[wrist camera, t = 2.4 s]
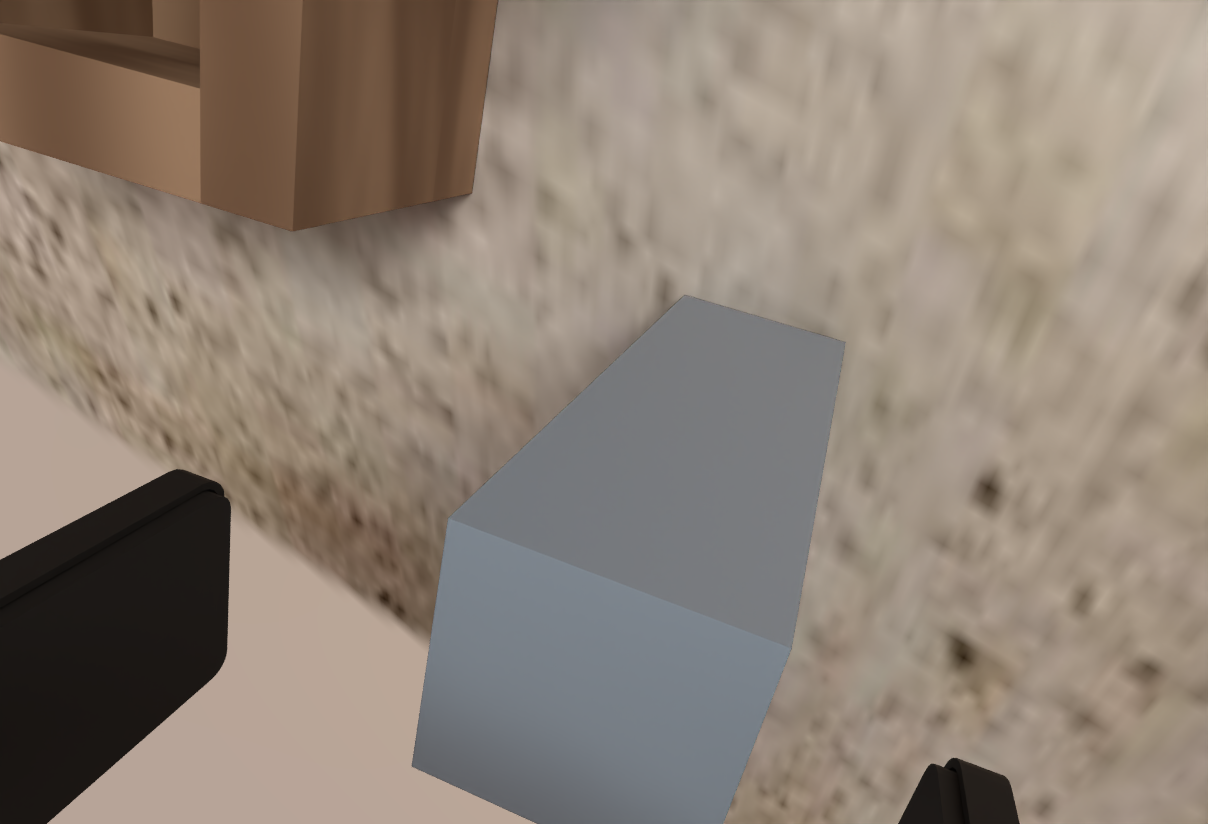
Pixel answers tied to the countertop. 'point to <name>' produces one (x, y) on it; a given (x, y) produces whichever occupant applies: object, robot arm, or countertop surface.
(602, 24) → the countertop surface
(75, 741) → the robot arm
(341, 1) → the small wooden stand
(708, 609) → the plain blue gray block
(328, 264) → the countertop surface
